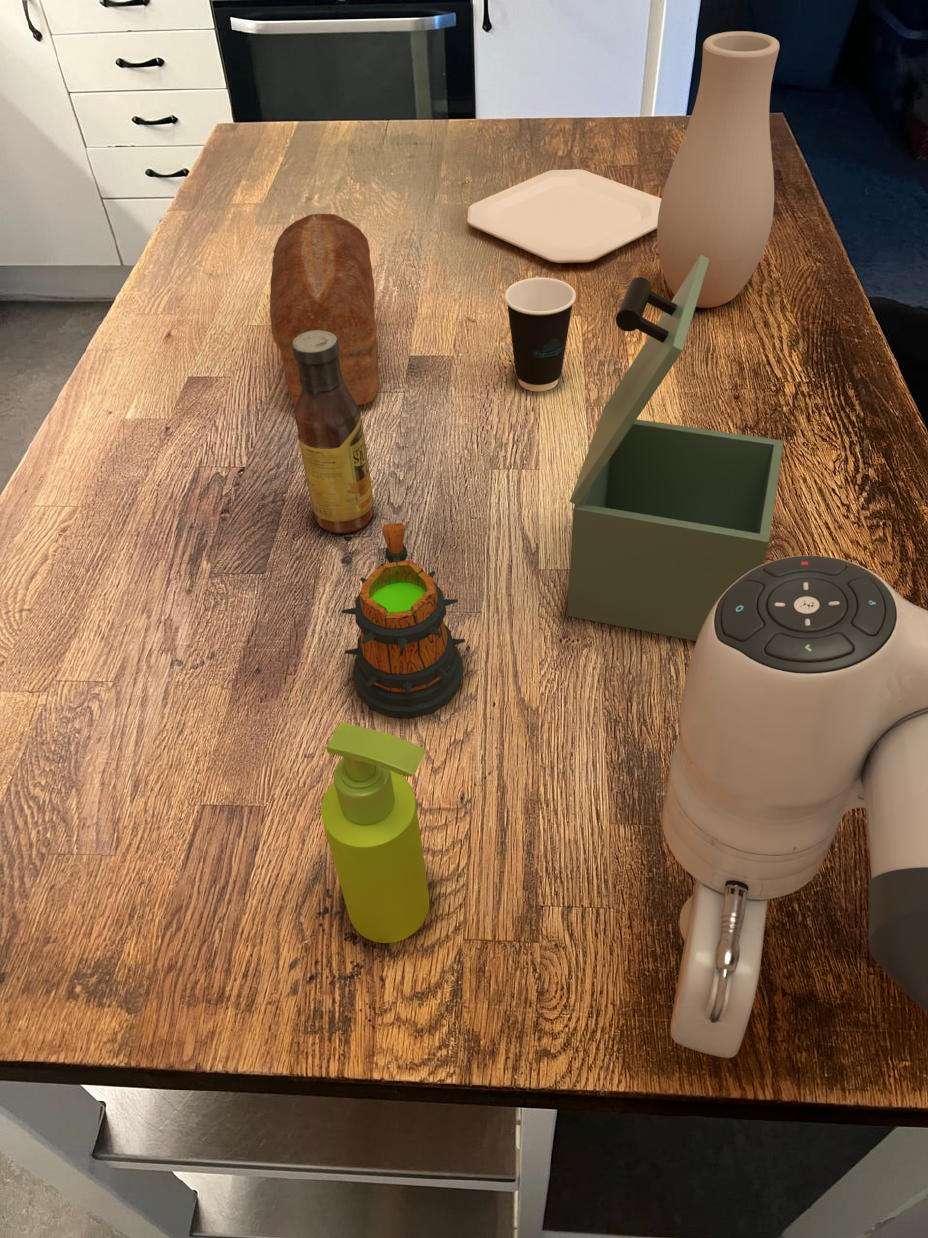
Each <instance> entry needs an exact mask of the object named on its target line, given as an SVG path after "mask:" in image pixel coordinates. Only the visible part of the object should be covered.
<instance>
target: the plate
mask: <svg viewBox="0 0 928 1238" xmlns="http://www.w3.org/2000/svg"><path fill="white" fill-rule="evenodd" d="M661 199H662V197H658V196H656V195H653V194H650V193H648V192H645V191H643V190H639V189H636V188H634V187H632V186H629V185H626V184H623V183H620V182H618V181H615V180H612V179H609V178H607V177H605V176H602V175H598V174H596V173H593V172H590V171H588V170H585V169H577V168H576V169H550V170H547V171H544V172H543V173H540V174H538V175H535V176H533V177H531V178H529V179H526V180H524V181H522V182H520V183H517V184H515V185H513V186H510V187H508V188H506V189H504V190H502V191H499V192H497V193H494V194H492V195H490V196H488V197H485V198H483V199H481V200H478V201H476V202H474V203H472V204H470V205H469V207H468V209H467V218H466V219H467V220H466V222H467V224H468V225H469V226H470V227H473V228H475V229H477V230H479V231H482V232H484V233H486V234H488V235H490V236H493V237H495V238H497V239H500V240H501V241H503V242H507V243H509V244H511V245H513V246H515V247H517V248H519V249H522V250H524V251H526V252H528V253H531V254H533V255H535V256H537V257H540V258H542V259H544V260H547V261H548V262H551V263H557V264H574V263H576V264H577V263H579V264H581V263H582V264H583V263H590V262H594V261H597V260H599V259H600V258H602V257H605V256H606V255H608V254H610V253H612V252H614V251H616V250H618V249H619V248H622V247H624V246H625V245H628V244H629V243H631V242H634V241H636V240H637V239H639V238H641V237H643V236H645V235H647V234H649V233H651V232H653V231H655V230H657V223H658V213H659V208H660V203H661Z"/></svg>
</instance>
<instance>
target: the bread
mask: <svg viewBox="0 0 928 1238" xmlns="http://www.w3.org/2000/svg"><path fill="white" fill-rule="evenodd" d="M372 266H373V265H372V262H371V249H370V245H369V241H368V238H367V236H365V234H364V233H363V232H362V230H361V229H360V228H359V227H357V226H356V225H355V224H353V223H352V222H350V221H349V220H347V219H345V218H343V217H341V216H340V215H337V214H335V213H312V214H308V215H306V216H304V217H303V218H300V219H298V220H295V221H293V223H291V224H290V225H288V226H287V227H285V229H284V230H283V231H282V233H281V234H280V236H278V238H277V240H276V244H275V246H274V249H273V256H272V261H271V267H272V268H271V275H270V293H269V318H270V327H271V329H270V330H271V336H272V339H273V342H274V344H275V345H276V347H277V348H278V350H279V352H280V357H281V363H282V366H283V371H284V378H285V383H286V387H287V391H288V394H289V397H290V399H291V401H292V403H293V406H295V405H296V401H297V400H298V398H299V395H300V393H301V391H302V386H301V384H300V379H301V378H300V373H299V367H298V363H297V361H296V359H295V357H294V353H293V347H292V343H293V340H294V339H295V338H296V337H297V336H299V335H301V334H302V333H305V332H308V331H313V330H322V331H327V332H330V333H332V334H334V335H335V336H336V337H337V340H338V345H339V355H338V358H339V363H340V371H341V374H342V379H343V381H344V383H345V385H346V387H347V389H348V390H349V392H350V394H351V395H352V397H353V399H354V400H355V402H356V404H357V405H358V407H359V406H363V405H366V404H370V403H371V402H372V401H374V399H375V397H376V395H377V393H378V391H379V387H380V372H379V371H380V370H379V361H378V360H379V359H378V343H377V342H378V341H377V325H376V317H375V316H376V315H375V295H376V293H375V281H374V280H375V279H374V274H373V267H372Z"/></svg>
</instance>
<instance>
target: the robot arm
mask: <svg viewBox="0 0 928 1238" xmlns="http://www.w3.org/2000/svg"><path fill="white" fill-rule="evenodd" d="M693 647H694V648H693V650H692V654H691V657H690V660H689V664H688V668H687V671H686V675H685V680H684V683H683V688H682V692H681V693H682V694H681V700H680V704H679V705H680V706H679V713H678V726H679V727H678V729H679V735H680V736H679V738H678V740H677V741H676V743H675V746H674V749H673V751H672V754H671V755H672V756H671V759H670V764H669V770H668V775H667V782H666V788H665V793H664V799H663V805H662V810H661V822H662V824H661V825H662V830H663V834H664V835H663V836H664V837H665V841H666V844H667V845H668V847H669V850H670V851H671V853H672V855H673V856H674V858H675V859H676V861H677V862H678V863H679V864H680V866H682V869H684V870H685V871H686V872H687V873H688V874H690V876H692V877H693V878H694V884H693V890H692V895H691V896H692V901H691V907H690V913H689V919H688V925H687V930H686V936H685V941H684V942H683V943H684V944H683V948H682V954H681V960H680V966H679V972H678V979H677V983H676V989H675V996H674V1002H673V1008H672V1014H671V1019H670V1036H671V1038H672V1040H673V1041H674V1042H675V1043H676V1044H678V1045H680V1046H683V1047H684V1048H688V1049H690V1050H693V1051H696V1052H699V1053H702V1054H706V1055H710V1056H714V1057H719V1058H726V1059H730V1058H733V1057H735V1056H736V1055H738V1053H739V1051H740V1048H741V1045H742V1043H743V1039H744V1036H745V1033H746V1030H747V1027H748V1023H749V1020H750V1017H751V1014H752V1009H753V1006H754V1003H755V999H756V994H757V989H758V983H759V979H760V972H761V965H762V955H763V947H764V939H765V929H766V923H767V922H766V921H767V913H768V904H769V900H773V899H777V898H781V897H784V896H785V897H786V896H787V895H791V894H792V893H794V892H796V891H798V890H800V889H802V888H803V887H805V886H806V885H807V884H808V883H809V882H810V881H811V880H813V879H814V877H815V876H816V875H817V874H818V872H819V871H820V870H821V868H822V866H823V864H824V861H825V859H826V857H827V855H828V852H829V850H830V847H831V845H832V843H833V841H834V838H835V836H836V833H837V831H838V829H839V826H840V824H841V822H842V820H843V817H844V815H846V813H848V812H849V811H852V810H853V809H864V810H865V819H866V829H867V831H866V832H867V840H868V841H867V842H868V852H869V855H868V856H869V866H870V878H871V879H870V880H869V883H868V933H867V934H868V935H867V936H868V938H867V939H868V943H867V945H868V950H869V953H870V955H871V957H872V959H873V960H874V961H875V962H876V963H877V964H878V965H879V966H880V968H881V969H882V970H883V971H884V972H885V974H886V975H887V976H888V977H889V978H890V979H891V980H892V981H893V982H894V983H895V984H896V986H897V987H898V988H900V990H902V992H903V993H905V995H907V996H908V997H909V998H910V999H911V1000H912V1002H914V1003H915V1004H917V1005H918V1007H920V1008H921V1009H922V1010H923V1011H925V1012H926V1013H927V1014H928V609H925V608H922V607H920V606H918V605H916V604H914V603H912V602H910V601H908V600H907V599H905V598H904V597H903V596H901V595H900V594H899V593H898V592H897V591H896V590H895V588H893V587H892V586H891V585H890V584H889V583H888V582H887V581H886V580H885V579H884V578H882V577H881V576H880V575H879V574H876V573H875V572H874V571H872V570H870V569H868V568H866V567H864V566H862V565H860V564H857V563H855V562H852V561H848V560H844V559H841V558H838V557H831V556H825V555H793V556H787V557H782V558H778V559H775V560H771V561H769V562H764V564H763V565H761V566H758V567H756V568H754V569H753V570H751V571H749V572H748V573H746V574H745V575H743V576H742V577H741V578H739V579H738V580H737V581H735V582H734V583H733V584H732V585H731V586H730V587H729V588H728V589H727V590H726V591H725V592H724V593H723V594H722V595H721V596H720V598H719V599H718V600H717V602H716V603H715V605H714V606H713V608H712V609H711V611H710V613H709V615H708V616H707V618H706V620H705V622H704V624H703V627H702V629H701V631H700V633H699V636H698V639H697V641H695V644H694V646H693Z"/></svg>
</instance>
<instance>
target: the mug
mask: <svg viewBox="0 0 928 1238" xmlns="http://www.w3.org/2000/svg"><path fill="white" fill-rule="evenodd" d="M381 531H382V536H383V538H384V541H385V544H386V548H385V550H384V554H385V559H386V560H387V562H385V563H381V564H380V565H379V566H378V567H377V568H376V569H375V570H374V571H373V572H372V573H371V574H370V575H369V576H368V577H367V578H365V577H362V576H361V577H360V579H359V581H360V582H361V583H362V585H361V590H360V591H359V593H358V595H357V596H356V597H355V599H354V606H355V607H350V608H345V609H341V614H345V615H354V617H355V619H354V621H355V624H356V625H357V627H358V628H359V630H360V635H359V636H358V638H357V640H356V641H357V647H356V648H355V647H354V648H351V649H345V650H344V654H345V655H352V656H356V657H355V660H354V665H353V668H352V673H351V674H352V678H353V683H354V687H355V690H356V693H357V697H359V699H360V700H361V701H362V702H363V703H364V704H365V705H366V706H367V707H368V708H369V709H370V710H372V711H374V712H376V713H379V714H381V715H383V716H386V717H388V718H397V719H399V718H400V719H401V718H402V719H414V718H418V717H422V716H426V715H430V714H434V713H435V712H436V711H438V710H439V709H441V708H442V707H443V708H444V706H445V705H447V704H449V703H451V701H452V700H453V699H454V697H455V695H456V694H457V693H458V691H459V690H460V688H461V687H462V683H463V674H464V662H463V659H462V656H461V654H460V652H459V649H458V647H457V645H460V644H461V645H462V644H463V643H466V639H465V638H453V635H452V632H451V631H452V630H451V629H450V628H449V627H448V626H447V625H446V624H445V617H446V615H447V608H446V607H448V606H450V605H454V604H457V603H459V599H458V598H448V599H447V598H445V595H444V592H443V590H442V589H441V588H440V587H439V586H438V584H437V582H435V581H434V577H435V575H436V571H435V570H432V571H431V572H429V573H427V572H426V571H425V570H424V569H423V568H422V567H421V566H419V564H416V563H415V562H414V561H412V560H411V559H407V558H408V549H407V547H406V546H405V544H404V541H405V536H406V535H405V534H406V527H405V525H404V523H403V522H394V523H393V522H392V523H385V524H383V526H382V530H381Z"/></svg>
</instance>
